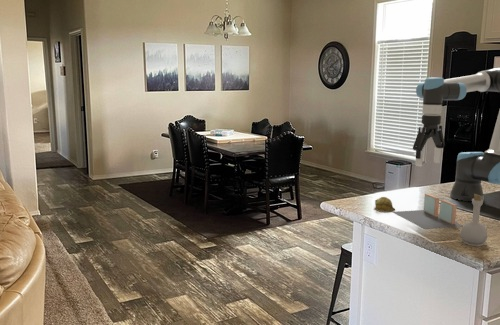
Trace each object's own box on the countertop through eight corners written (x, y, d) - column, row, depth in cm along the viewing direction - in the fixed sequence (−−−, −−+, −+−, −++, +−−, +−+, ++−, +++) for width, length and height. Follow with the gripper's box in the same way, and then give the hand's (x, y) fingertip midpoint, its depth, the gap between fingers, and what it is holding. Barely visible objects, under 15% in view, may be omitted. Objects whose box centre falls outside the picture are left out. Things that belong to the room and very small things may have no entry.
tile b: (442, 218, 193) (443, 199, 191) (454, 224, 185) (456, 204, 184) (438, 218, 192) (440, 199, 191) (451, 224, 185) (453, 205, 183)
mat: (428, 211, 206) (428, 209, 206) (464, 227, 183) (464, 226, 183) (391, 213, 202) (391, 211, 202) (424, 230, 179) (424, 228, 179)
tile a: (426, 211, 203) (427, 193, 202) (437, 216, 196) (439, 197, 194) (423, 211, 203) (424, 193, 202) (434, 216, 195) (435, 198, 194)
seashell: (392, 220, 205) (399, 205, 207) (390, 214, 199) (398, 198, 202) (371, 213, 210) (378, 198, 212) (369, 206, 204) (376, 191, 207)
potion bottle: (455, 239, 169) (459, 190, 166) (478, 238, 170) (483, 190, 167) (468, 247, 161) (473, 197, 158) (492, 247, 162) (498, 196, 158)
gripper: (439, 113, 206) (436, 160, 210) (406, 115, 191) (402, 166, 195) (455, 114, 200) (451, 162, 204) (422, 116, 185) (418, 169, 189)
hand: (427, 164), depth 199 cm, fingers open, 13 cm apart
